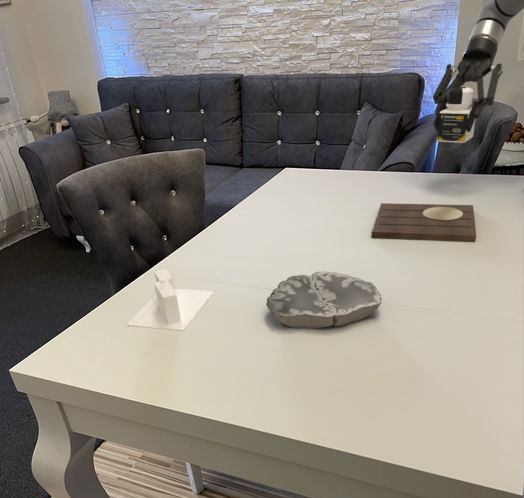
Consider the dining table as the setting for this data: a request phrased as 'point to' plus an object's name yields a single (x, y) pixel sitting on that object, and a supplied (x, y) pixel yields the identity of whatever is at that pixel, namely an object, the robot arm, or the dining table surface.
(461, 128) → the medicine bottle
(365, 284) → the brain slice
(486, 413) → the dining table surface
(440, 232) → the board
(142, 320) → the napkin holder
